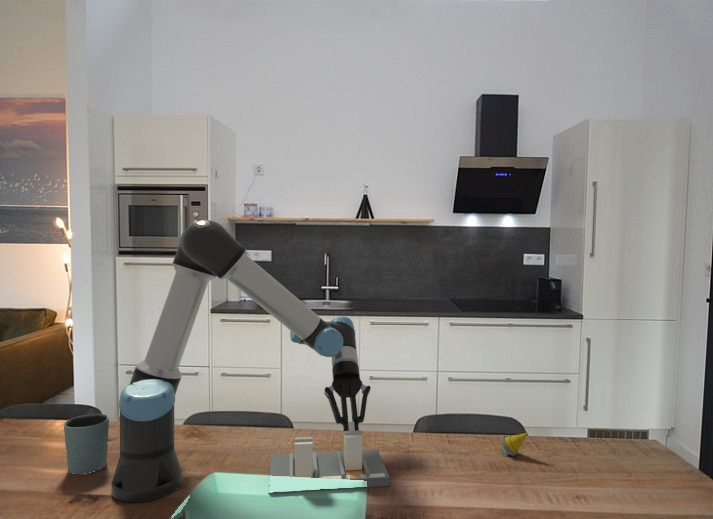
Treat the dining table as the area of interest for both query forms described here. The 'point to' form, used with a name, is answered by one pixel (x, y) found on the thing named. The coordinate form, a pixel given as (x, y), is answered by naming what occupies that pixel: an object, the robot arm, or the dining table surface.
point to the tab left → (304, 457)
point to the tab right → (353, 450)
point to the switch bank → (336, 467)
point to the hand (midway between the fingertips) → (352, 448)
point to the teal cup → (86, 442)
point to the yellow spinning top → (512, 444)
